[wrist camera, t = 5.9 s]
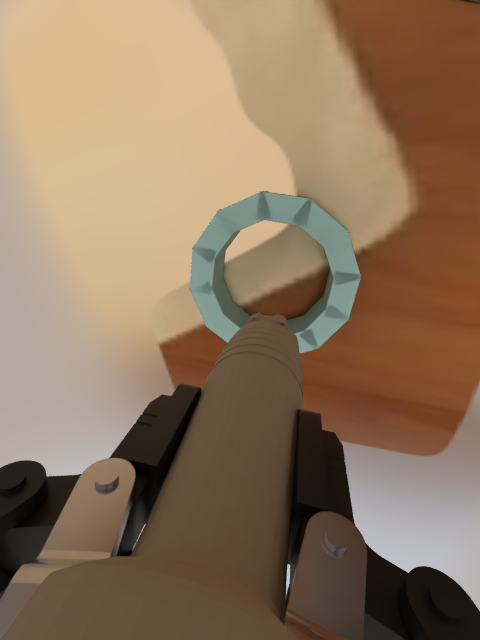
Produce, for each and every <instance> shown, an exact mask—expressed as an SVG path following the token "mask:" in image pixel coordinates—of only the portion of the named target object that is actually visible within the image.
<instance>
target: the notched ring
mask: <svg viewBox="0 0 480 640" xmlns="http://www.w3.org/2000/svg"><path fill="white" fill-rule="evenodd" d="M263 220H268V221H274V222H281V223H287V224H293V225H298V226H300V227H301V228H302V229H303V230H304V231H305V232H307V233H308V234H309V235H310V236H311V237H312V238H314V239H315V240H316V241H317V242H318V243H319V244H321V245H322V246H323V247H324V250H325V253H326V256H327V260H328V263H329V266H330V271H329V275H328V279H327V283H326V287H325V291H324V295H323V296H322V297H321V298H320V299H319V300H318V301H317V302H316V303H315V304H314V306H313V307H312V308H311V309H310V310H309V311H308V312H307V313H306V314H305V315H302V316H299V317H296V318H292V319H289V320H286V323H287V326H288V328H289V329H290V331H291V332H292V333H293V334H295V335H296V336H297V339H298V343H299V353H304V352H307V351H311V350H315V349H316V350H317V349H319V347H320V346H321V345H322V344H323V343H324V342H325V341H326V340H327V339H328V338H329V337H330V336H331V335H333V334H334V333H335V332H336V331H337V330H338V329H339V328H340V327H341V326H342V325H343V324H344V323H345V322H346V321H348V320H349V316H350V312H351V309H352V305H353V302H354V299H355V295H356V292H357V288H358V285H359V281H360V278H361V274H360V272H359V268H358V265H357V262H356V258H355V255H354V251H353V248H352V244H351V241H350V237H349V234H348V233H349V232H348V230H347V229H346V228H345V227H344V226H342V225H340V224H339V223H338V222H337V221H335V220H334V219H333V218H332V217H331V216H330V215H328V214H327V213H326V212H325V211H324V210H323V209H322V208H320V207H319V206H318V205H317V204H316V203H315V202H313V201H312V199H311V198H304V197H298V196H291V195H284V194H277V193H270V192H267V191H262V192H260V193H258V194H255V195H254V196H251V197H249V198H247V199H244V200H242V201H240V202H237V203H235V204H233V205H231V206H228V207H226V208H224V209H220V210H218V211H217V213H216V215H215V216H214V218H213V219H212V221H211V222H210V223H209V225H208V226H207V228H206V230H205V231H204V232H203V234H202V235H201V237H200V238H199V239H198V241H197V242H196V244H195V245H194V246H193V248H192V249H193V253H192V266H191V280H190V288H189V289H190V291H191V293H192V296H193V298H194V300H195V302H196V304H197V306H198V309H199V311H200V313H201V315H202V317H203V320H204V322H205V324H206V326H207V327H208V328H209V329H211V330H212V331H213V332H214V333H216V334H217V335H218V336H219V337H221V338H222V339H223V340H225V341H226V342H227V343H228V342H229V340H230V339H231V338H232V337H233V335H234V334H235V333H236V332H237V331H238V330H239V329H240V328H242V327H243V326H245V325H246V324H247V320H248V319H249V318H250V316H251V315H249V314H248V313H247V312H246V311H244V310H243V309H242V308H241V307H239V306H238V305H237V304H236V303H234V302H233V301H232V298H231V296H230V293H229V291H228V289H227V286H226V284H225V282H224V279H223V269H224V260H225V251H226V249H227V248H228V246H229V245H230V244H231V242H232V241H233V240H234V238H235V237H236V236H237V234H238V233H239V232H240V230H241V229H243V228H246V227H248V226H251V225H253V224H255V223H258V222H260V221H263Z"/></svg>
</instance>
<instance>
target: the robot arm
mask: <svg viewBox="0 0 480 640" xmlns="http://www.w3.org/2000/svg"><path fill="white" fill-rule="evenodd" d="M470 1H475V2H480V0H470ZM200 394H201V388H199V387H195V386H190V385H185V384H179V386H178V387H177V389H176V390H175V392H174V393H173V395H172V396H167V395H161V396H159V397H158V398H156V399H155V400H153V401H152V402H150V404H149V405H148V407H147V408H146V409H145V410H144V412H143V414H142V415H141V416H140V417H139V419H138V420H137V422H136V424H134V425H133V427H132V428H131V429H130V431H129V432H128V433H127V435H126V436H125V438H124V439H123V440H122V442H121V443H120V444H119V446H118V447H117V448H116V450H115V451H114V453H113V454H112V455H111V457H110V458H108V459H103V460H100V461H98V462H96V463H94V464H92V465H91V466H89V467H88V468H87V469H86V470H85V471H84V472H83V473H82V474H79V475H69V476H49V477H46V471H45V468H44V467H43V466H42V465H41V464H40V463H38V462H35V461H18V462H14V463H11V464H8V465H5V466H3V467H1V468H0V640H1V639H2V638H3V636H4V635H5V633H6V632H7V630H8V629H9V628H10V626H11V625H12V623H13V622H14V620H15V619H16V618H17V616H18V615H19V613H20V612H21V610H22V609H23V607H24V606H25V605H26V603H27V602H28V600H29V599H30V597H31V596H32V595H33V593H34V592H35V591H36V590H37V588H38V587H39V586H40V584H41V583H42V582H43V581H44V579H45V578H46V577H47V576H48V575H49V574H50V573H51V572H53V571H56V570H60V569H63V568H66V567H70V566H73V565H76V564H79V563H83V562H87V561H93V560H99V559H105V558H111V557H117V556H127V557H130V555H131V553H132V551H133V549H134V547H135V545H136V543H137V539H138V537H139V535H140V533H141V531H142V529H143V526H144V525H145V524H146V523H147V521H148V518H149V516H150V514H151V511H152V509H153V506H154V504H155V502H156V499H157V497H158V495H159V492H160V490H161V488H162V485H163V483H164V481H165V478H166V476H167V473H168V471H169V469H170V466H171V464H172V462H173V459H174V457H175V455H176V452H177V450H178V447H179V445H180V443H181V440H182V438H183V435H184V433H185V430H186V428H187V426H188V423H189V421H190V418H191V416H192V414H193V411H194V409H195V406H196V404H197V401H198V399H199V397H200ZM344 459H345V458H344V452H343V445H342V444H341V442H340V441H339V439H338V438H337V436H336V434H335V433H334V432H329V431H325V430H322V424H321V414H320V413H315V412H310V411H306V410H301V409H299V410H298V422H297V438H296V453H295V468H294V484H293V500H292V513H291V526H290V530H291V531H290V541H289V552H288V563H287V564H290V584H289V587H288V591H287V594H286V601H285V615H284V619H283V624H284V625H285V626H286V627H287V629H288V630H289V631H290V632H291V633H292V634H293V635H294V636H295V637H296V638H297V639H298V640H480V611H479V610H478V608H477V607H476V605H475V604H474V602H473V601H472V600H471V598H470V597H469V596H468V594H467V593H466V592H465V591H464V590H463V589H462V587H461V586H460V585H458V584H457V583H456V582H455V581H454V580H453V579H451V578H450V577H449V576H447V575H446V574H444V573H443V572H441V571H439V570H436V569H433V568H431V567H425V566H422V567H416V568H414V569H412V570H411V571H410V572H409V573H407V572H406V571H404V570H402V569H401V568H399V567H397V566H396V565H394V564H392V563H391V562H389V561H387V560H385V559H384V558H382V557H381V556H379V555H378V554H377V553H375V552H374V551H373V550H372V549H371V548H370V547H369V546H368V545H367V544H366V543H365V541H364V538H363V536H362V534H361V533H360V531H359V530H358V529H357V527H356V526H355V524H354V519H353V512H352V506H351V499H350V492H349V486H348V479H347V474H346V465H345V462H344Z"/></svg>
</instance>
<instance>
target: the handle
mask: <svg viewBox="0 0 480 640" xmlns="http://www.w3.org/2000/svg"><path fill="white" fill-rule="evenodd" d="M299 409H301V410H303V375H302V365H301V358H300V353H299V343H298V339H297V336H296V335H295V334H293V333H292V332H291V331H290V329H289V328H288V326H287V323H286V318H285V317H284V316H283V315H281V314H276V315H269V316H268V315H263V314H261V313H260V312H258V313H255V314H253V315H251V316H250V318H249V319H248V320H247V324H246V325H245V326H243V327H242V328H240V329H239V330H238V331H237V332H236V333H235V334H234V335H233V337H232V338H231V339H230V340H229V342H228V343H227V345H226V346H225V348H224V349H223V351H222V352H221V354H220V355H219V357H218V358H217V360H216V362H215V364H214V366H213V367H212V369H211V371H210V373H209V375H208V377H207V379H206V381H205V384H204V386H203V389H202V391H201V394H200V397H199V399H198V401H197V404H196V406H195V409H194V411H193V414H192V416H191V418H190V421H189V423H188V426H187V428H186V430H185V433H184V435H183V438H182V440H181V443H180V445H179V447H178V450H177V452H176V455H175V457H174V459H173V462H172V464H171V466H170V469H169V471H168V473H167V476H166V478H165V481H164V483H163V485H162V488H161V490H160V492H159V495H158V497H157V499H156V502H155V504H154V506H153V509H152V511H151V514H150V516H149V518H148V521H147V523H146V525H145V527H144V529H143V531H142V533H141V535H140V537H139V539H138V541H137V543H136V545H135V547H134V549H133V551H132V553H131V555H130V557H127V556H117V557H111V558H105V559H99V560H93V561H87V562H83V563H79V564H76V565H73V566H70V567H66V568H63V569H60V570H56V571H53V572H51V573H50V574H49V575H48V576H47V577H46V578H45V579H44V581H43V582H42V583H41V584H40V586H39V587H38V588H37V590H36V591H35V592H34V593H33V595H32V596H31V597H30V599H29V600H28V602H27V603H26V605H25V606H24V607H23V609H22V610H21V612H20V613H19V615H18V616H17V618H16V619H15V620H14V622H13V623H12V625H11V626H10V628H9V629H8V630H7V632H6V633H5V635H4V636H3V638H2V639H1V640H298V639H297V638H296V637H295V636H294V635H293V634H292V633H291V632H290V631H289V630H288V629H287V627H286V626H285V625H284V624H283V619H284V615H285V601H286V575H287V563H288V552H289V541H290V531H291V530H290V526H291V513H292V500H293V484H294V468H295V453H296V438H297V422H298V410H299Z"/></svg>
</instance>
